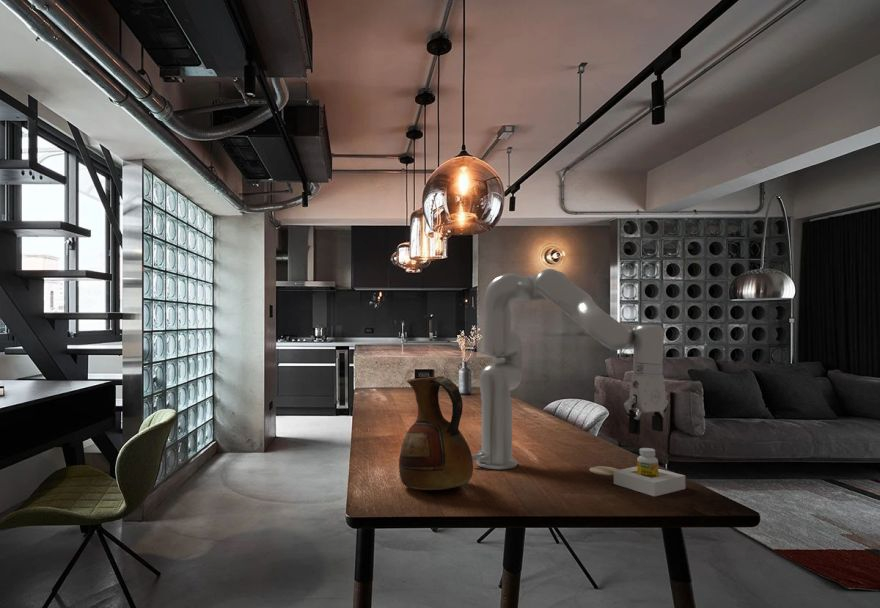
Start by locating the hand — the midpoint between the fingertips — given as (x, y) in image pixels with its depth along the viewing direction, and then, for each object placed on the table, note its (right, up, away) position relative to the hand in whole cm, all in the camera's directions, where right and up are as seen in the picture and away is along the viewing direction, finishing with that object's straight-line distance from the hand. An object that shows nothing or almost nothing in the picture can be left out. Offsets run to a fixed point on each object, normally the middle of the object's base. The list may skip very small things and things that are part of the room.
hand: (645, 432), depth 148 cm
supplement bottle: (0, -14, -1) cm, 14 cm away
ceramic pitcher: (-58, -14, -4) cm, 59 cm away
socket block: (+1, -15, -1) cm, 15 cm away
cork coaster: (-7, -16, +15) cm, 22 cm away
